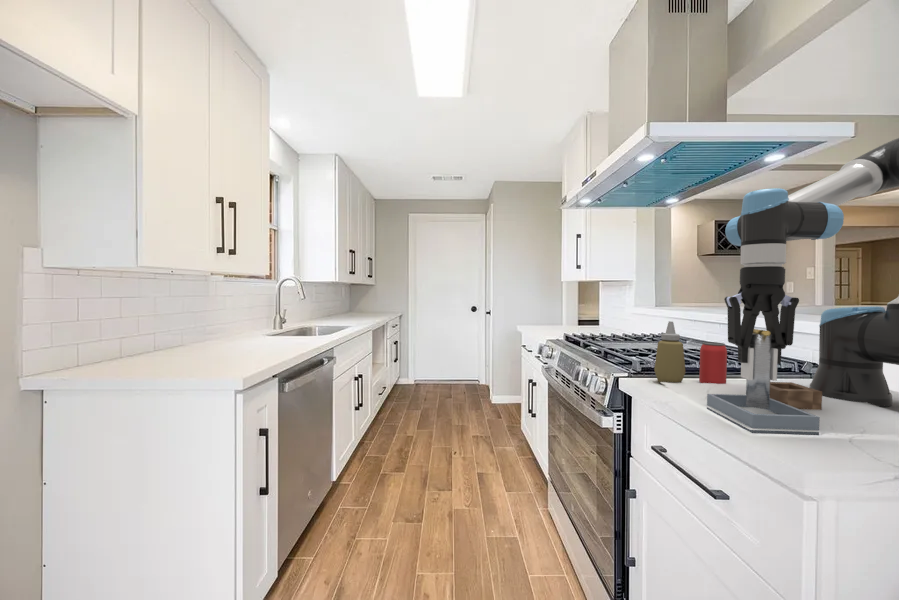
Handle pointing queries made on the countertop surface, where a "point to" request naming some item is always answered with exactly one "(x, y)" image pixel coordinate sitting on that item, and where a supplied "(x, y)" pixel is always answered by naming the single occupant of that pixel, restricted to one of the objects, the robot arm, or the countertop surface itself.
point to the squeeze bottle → (670, 357)
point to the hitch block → (796, 395)
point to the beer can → (713, 363)
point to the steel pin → (760, 370)
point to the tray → (764, 415)
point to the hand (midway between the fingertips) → (758, 378)
